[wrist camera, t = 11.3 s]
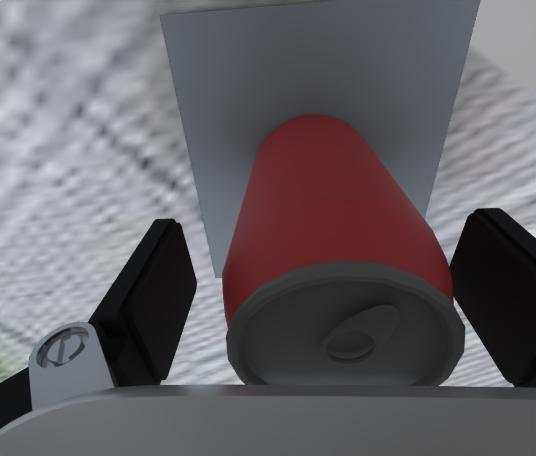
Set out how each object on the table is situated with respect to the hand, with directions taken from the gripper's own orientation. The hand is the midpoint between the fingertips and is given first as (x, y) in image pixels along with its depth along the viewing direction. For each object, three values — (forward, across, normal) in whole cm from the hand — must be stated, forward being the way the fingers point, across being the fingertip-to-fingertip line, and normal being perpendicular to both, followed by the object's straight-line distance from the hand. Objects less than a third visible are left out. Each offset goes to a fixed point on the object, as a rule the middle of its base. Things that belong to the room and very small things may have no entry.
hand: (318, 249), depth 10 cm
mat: (+9, 0, +1) cm, 9 cm away
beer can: (+8, 0, +1) cm, 8 cm away
